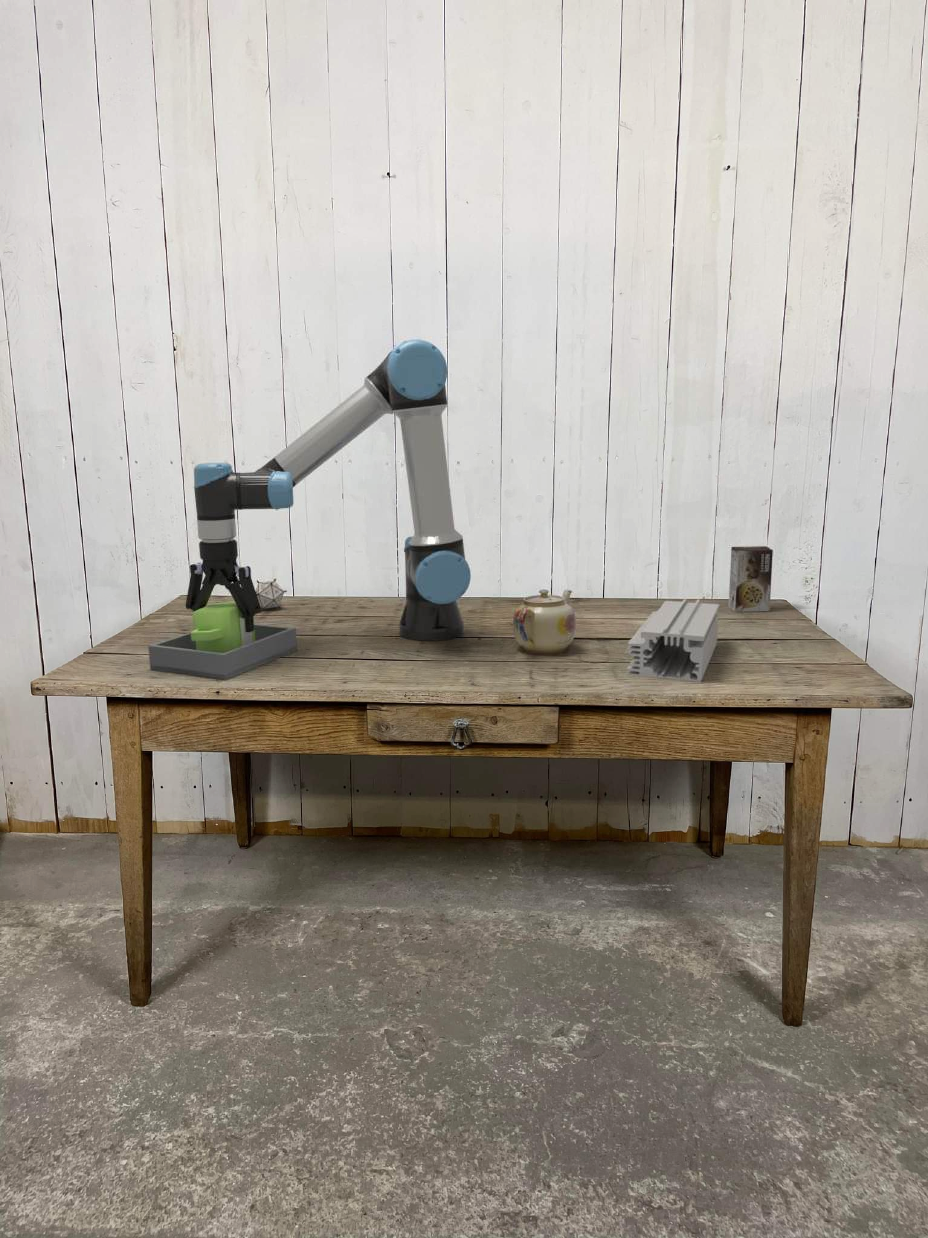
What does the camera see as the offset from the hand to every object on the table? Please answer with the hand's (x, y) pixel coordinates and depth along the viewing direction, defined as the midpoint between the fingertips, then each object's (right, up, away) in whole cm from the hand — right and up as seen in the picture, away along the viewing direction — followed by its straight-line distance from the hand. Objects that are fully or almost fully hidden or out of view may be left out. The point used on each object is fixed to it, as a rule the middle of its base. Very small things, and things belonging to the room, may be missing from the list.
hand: (225, 644), depth 184 cm
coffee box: (+124, +8, +44) cm, 132 cm away
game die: (-2, +8, +50) cm, 50 cm away
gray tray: (0, -3, +1) cm, 3 cm away
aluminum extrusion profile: (+94, -3, -1) cm, 94 cm away
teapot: (+68, -1, +7) cm, 68 cm away
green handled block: (0, -1, 0) cm, 1 cm away
